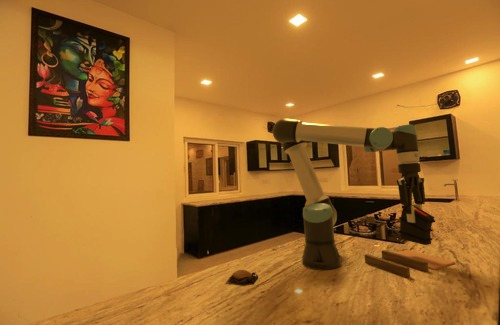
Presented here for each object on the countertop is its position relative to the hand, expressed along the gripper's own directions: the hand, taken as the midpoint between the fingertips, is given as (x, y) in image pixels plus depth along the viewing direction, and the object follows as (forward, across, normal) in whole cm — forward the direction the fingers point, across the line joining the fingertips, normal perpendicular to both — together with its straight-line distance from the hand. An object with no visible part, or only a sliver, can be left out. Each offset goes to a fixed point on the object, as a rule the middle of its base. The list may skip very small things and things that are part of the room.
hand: (415, 221), depth 95 cm
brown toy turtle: (+15, -68, +19) cm, 72 cm away
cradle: (+15, -14, 0) cm, 20 cm away
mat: (+15, 0, 0) cm, 15 cm away
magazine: (+8, 0, 0) cm, 8 cm away
